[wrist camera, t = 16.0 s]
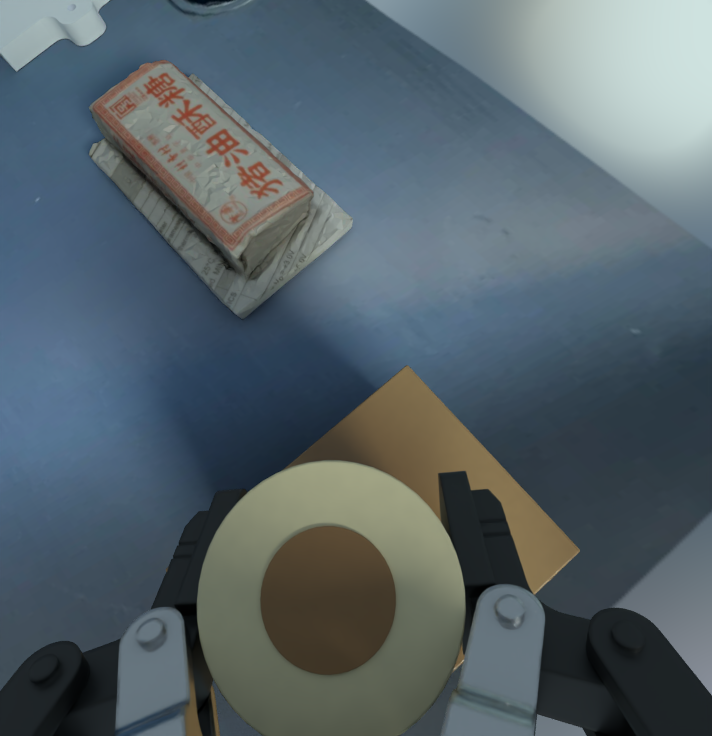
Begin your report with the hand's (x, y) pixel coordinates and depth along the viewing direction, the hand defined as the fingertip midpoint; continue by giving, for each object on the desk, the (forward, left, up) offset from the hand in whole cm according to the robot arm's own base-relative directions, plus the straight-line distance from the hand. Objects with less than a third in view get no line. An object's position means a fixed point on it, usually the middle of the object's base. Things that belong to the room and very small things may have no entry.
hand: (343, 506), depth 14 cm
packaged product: (+20, +14, -16) cm, 29 cm away
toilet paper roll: (-2, 0, -4) cm, 5 cm away
